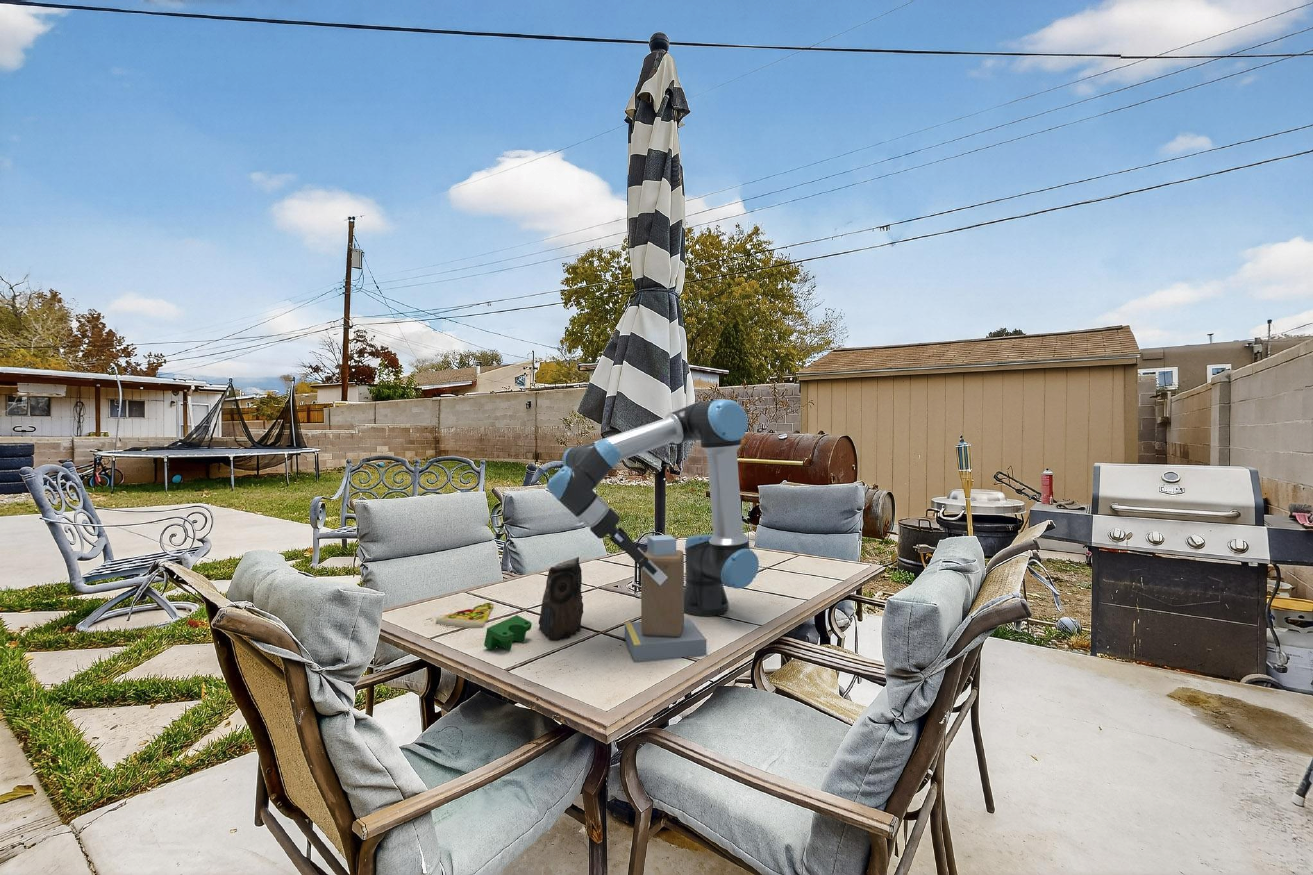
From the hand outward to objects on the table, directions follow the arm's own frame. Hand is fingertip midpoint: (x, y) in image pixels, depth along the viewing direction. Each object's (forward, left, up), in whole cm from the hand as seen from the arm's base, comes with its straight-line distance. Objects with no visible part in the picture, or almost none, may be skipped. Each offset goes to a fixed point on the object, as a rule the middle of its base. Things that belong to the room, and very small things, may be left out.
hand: (658, 574), depth 139 cm
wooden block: (-1, 0, -15) cm, 15 cm away
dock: (-1, 0, -19) cm, 19 cm away
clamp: (+38, -10, -19) cm, 43 cm away
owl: (+25, -17, -19) cm, 35 cm away
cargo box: (-1, 0, +5) cm, 5 cm away
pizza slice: (+49, -36, -20) cm, 64 cm away
